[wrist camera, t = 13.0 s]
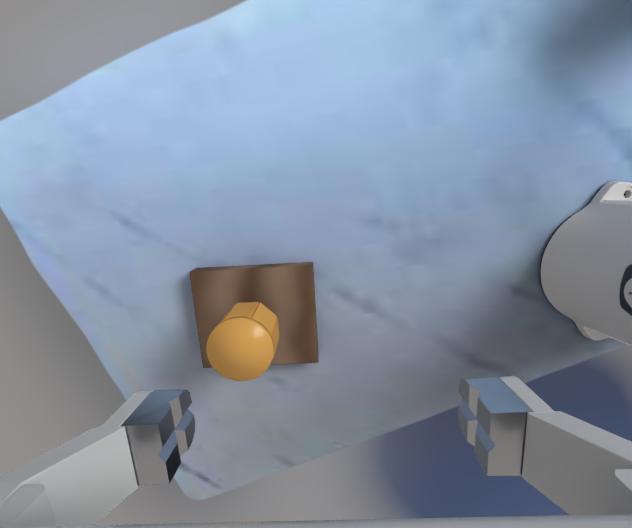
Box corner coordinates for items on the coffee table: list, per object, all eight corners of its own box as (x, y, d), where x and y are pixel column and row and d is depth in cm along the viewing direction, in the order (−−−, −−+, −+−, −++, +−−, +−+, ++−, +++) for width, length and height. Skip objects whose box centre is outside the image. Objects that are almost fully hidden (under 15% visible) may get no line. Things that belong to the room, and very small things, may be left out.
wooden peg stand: (312, 262, 37) (311, 282, 28) (318, 354, 40) (318, 399, 31) (196, 268, 37) (158, 290, 29) (208, 359, 40) (178, 405, 31)
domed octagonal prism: (277, 299, 33) (270, 317, 28) (281, 353, 34) (275, 379, 30) (219, 302, 33) (202, 321, 28) (225, 356, 35) (210, 382, 30)
